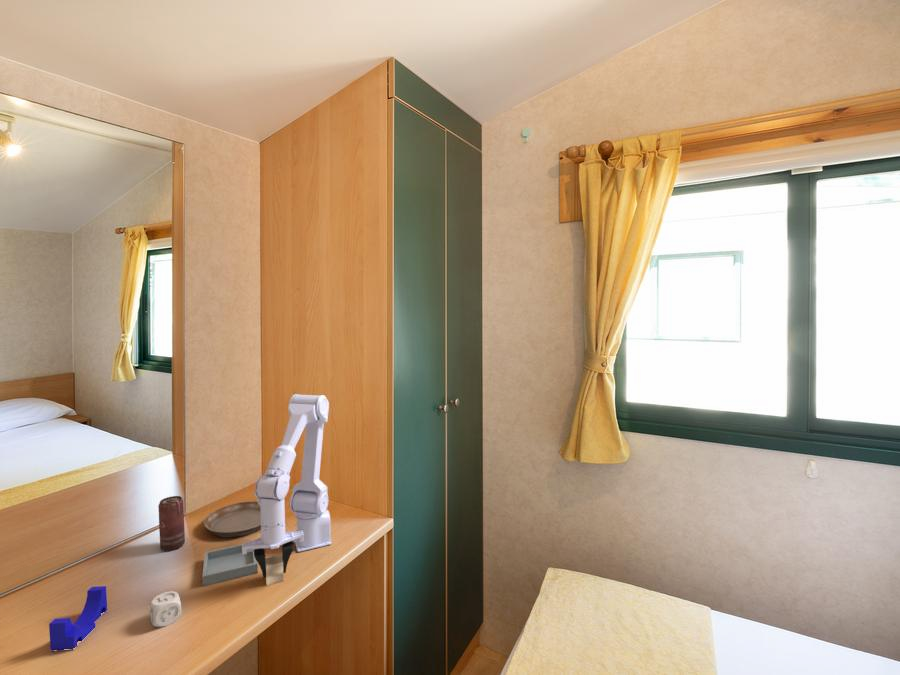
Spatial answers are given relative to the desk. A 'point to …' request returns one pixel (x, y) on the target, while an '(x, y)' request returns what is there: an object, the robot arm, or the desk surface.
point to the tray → (227, 564)
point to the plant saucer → (235, 520)
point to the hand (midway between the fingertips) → (274, 573)
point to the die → (165, 609)
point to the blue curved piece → (78, 621)
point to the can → (171, 523)
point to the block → (274, 569)
